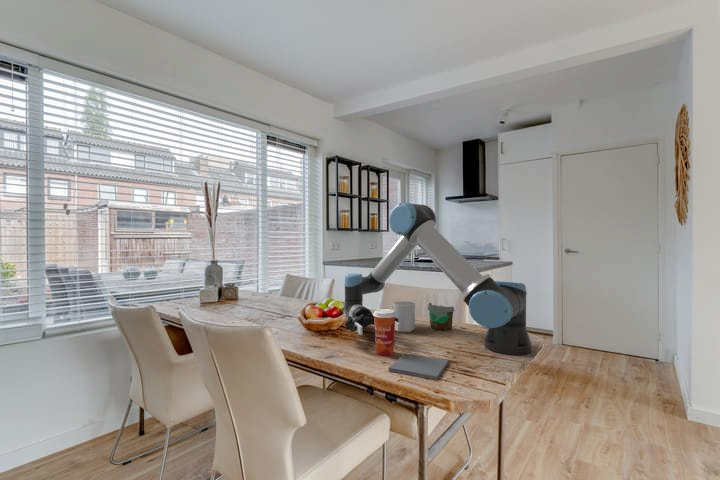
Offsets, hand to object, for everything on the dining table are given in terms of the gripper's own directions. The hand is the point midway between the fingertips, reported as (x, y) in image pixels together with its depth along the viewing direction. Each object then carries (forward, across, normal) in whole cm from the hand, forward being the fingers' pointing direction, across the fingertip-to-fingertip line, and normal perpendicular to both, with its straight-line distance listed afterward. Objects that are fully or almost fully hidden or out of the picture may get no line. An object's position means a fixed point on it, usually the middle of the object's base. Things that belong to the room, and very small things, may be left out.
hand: (380, 329), depth 120 cm
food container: (-18, -33, -8) cm, 38 cm away
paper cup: (+3, 0, -8) cm, 8 cm away
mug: (-23, -20, -8) cm, 31 cm away
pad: (+18, -6, -7) cm, 20 cm away
